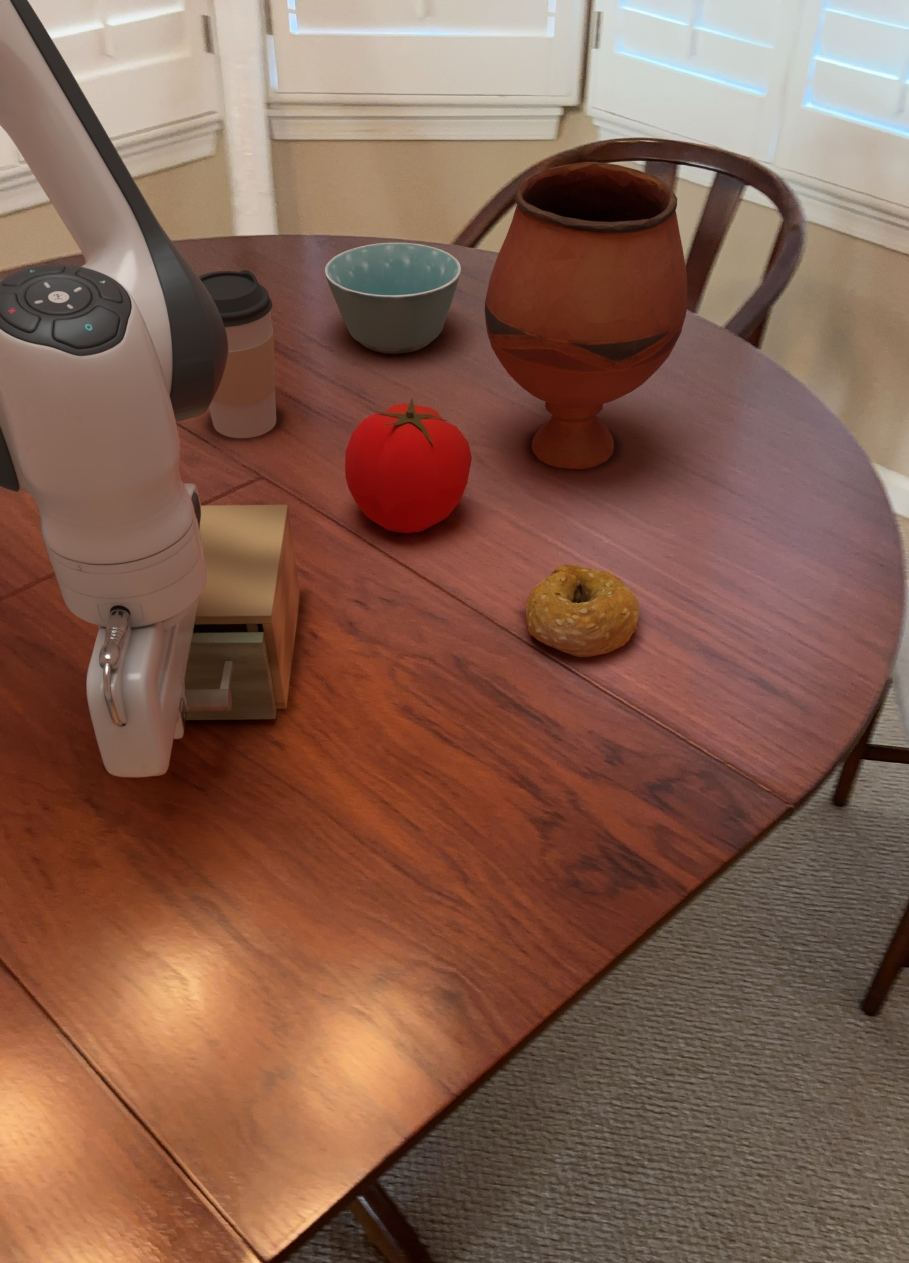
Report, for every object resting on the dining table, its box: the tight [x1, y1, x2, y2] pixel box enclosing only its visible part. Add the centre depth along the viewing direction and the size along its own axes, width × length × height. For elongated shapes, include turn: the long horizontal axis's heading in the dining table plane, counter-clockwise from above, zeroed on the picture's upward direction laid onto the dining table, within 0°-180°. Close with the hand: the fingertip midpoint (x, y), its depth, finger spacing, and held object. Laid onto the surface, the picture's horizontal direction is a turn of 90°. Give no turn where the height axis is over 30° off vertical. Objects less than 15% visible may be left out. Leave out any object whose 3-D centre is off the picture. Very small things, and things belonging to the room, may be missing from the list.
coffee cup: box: [198, 269, 277, 439], centre depth 110 cm, size 9×9×15 cm
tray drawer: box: [184, 624, 278, 721], centre depth 84 cm, size 18×11×8 cm, turn 1°
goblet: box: [484, 161, 688, 470], centre depth 103 cm, size 19×19×25 cm
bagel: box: [525, 564, 640, 658], centre depth 91 cm, size 10×11×5 cm
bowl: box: [324, 242, 462, 355], centre depth 126 cm, size 16×16×8 cm
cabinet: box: [194, 504, 301, 710], centre depth 87 cm, size 15×13×10 cm
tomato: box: [344, 397, 473, 534], centre depth 100 cm, size 12×12×11 cm
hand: (174, 725), depth 75 cm, fingers closed
